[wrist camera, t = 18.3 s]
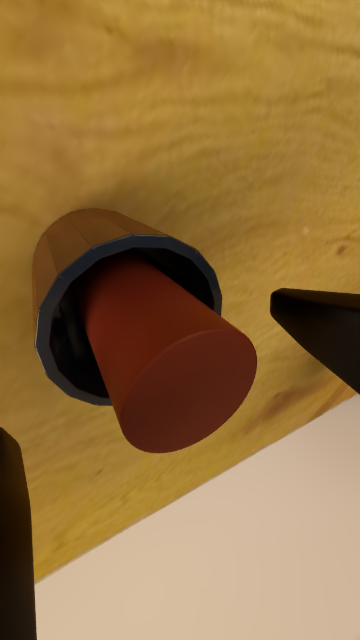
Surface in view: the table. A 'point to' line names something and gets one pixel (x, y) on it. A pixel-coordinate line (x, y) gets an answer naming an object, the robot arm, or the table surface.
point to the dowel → (161, 353)
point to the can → (76, 257)
